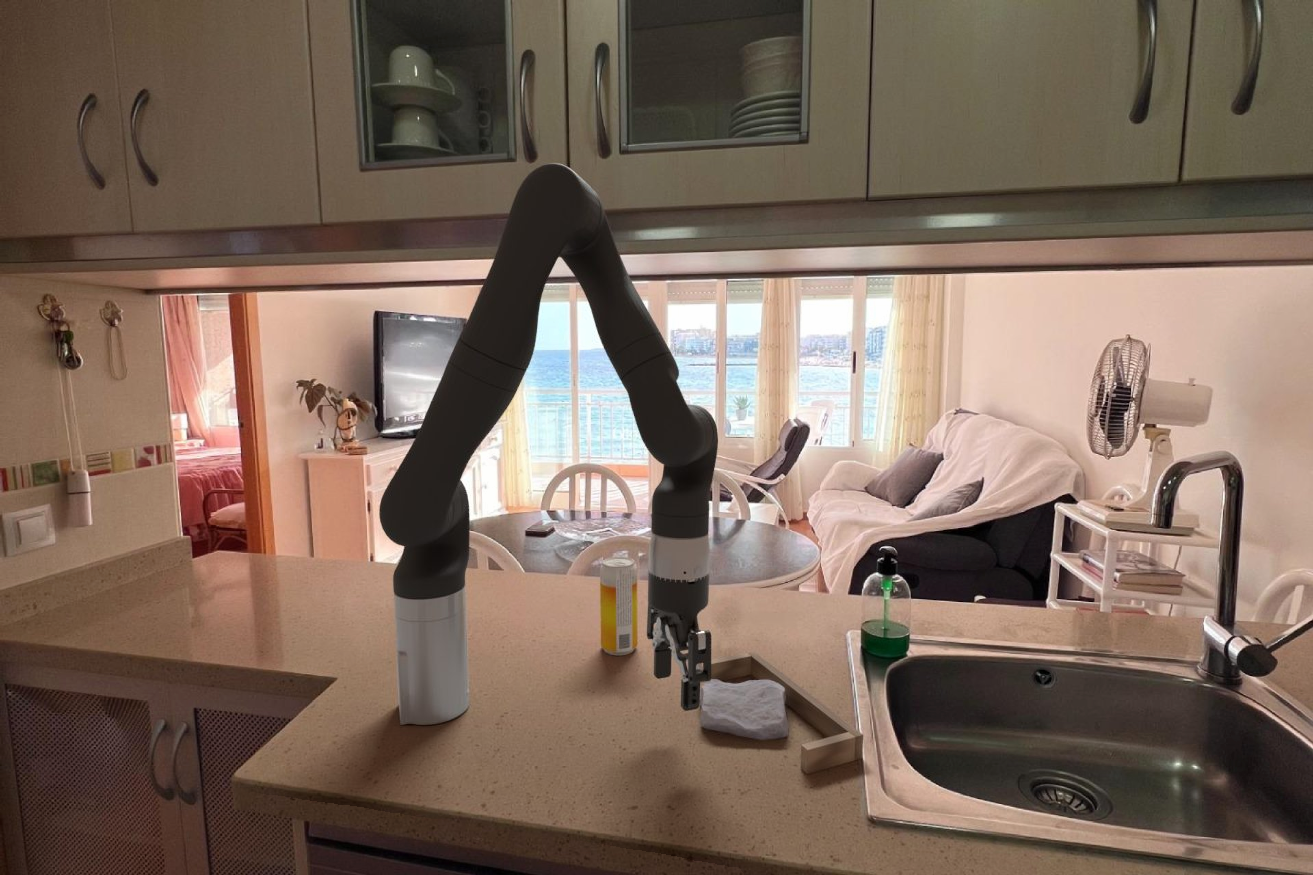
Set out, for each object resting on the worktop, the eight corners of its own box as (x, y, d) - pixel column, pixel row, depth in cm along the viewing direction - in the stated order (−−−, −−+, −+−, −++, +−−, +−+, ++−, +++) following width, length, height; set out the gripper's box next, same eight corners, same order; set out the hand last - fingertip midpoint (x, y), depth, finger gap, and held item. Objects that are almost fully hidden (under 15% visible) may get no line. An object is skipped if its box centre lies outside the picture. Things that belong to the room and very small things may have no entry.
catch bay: (806, 774, 78) (807, 749, 78) (707, 679, 101) (707, 660, 101) (862, 757, 81) (863, 734, 81) (753, 669, 104) (753, 651, 104)
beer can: (627, 638, 116) (627, 554, 114) (643, 652, 111) (643, 563, 109) (595, 645, 113) (594, 559, 112) (610, 659, 108) (609, 569, 106)
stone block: (792, 755, 85) (784, 701, 95) (792, 724, 84) (784, 672, 93) (698, 753, 87) (700, 700, 96) (697, 722, 85) (699, 671, 95)
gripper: (630, 554, 88) (628, 672, 90) (674, 589, 75) (671, 726, 77) (682, 549, 91) (679, 663, 93) (734, 582, 78) (729, 714, 80)
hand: (675, 691), depth 85 cm, fingers open, 8 cm apart
